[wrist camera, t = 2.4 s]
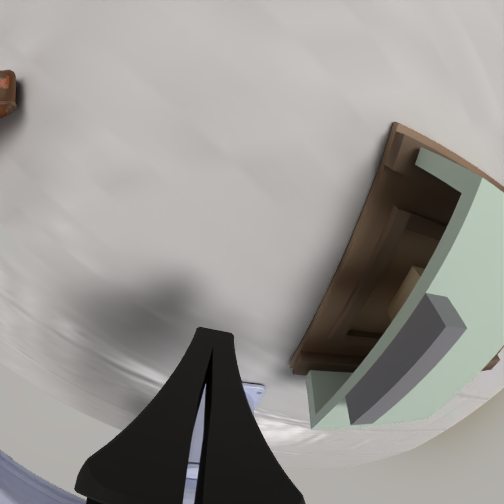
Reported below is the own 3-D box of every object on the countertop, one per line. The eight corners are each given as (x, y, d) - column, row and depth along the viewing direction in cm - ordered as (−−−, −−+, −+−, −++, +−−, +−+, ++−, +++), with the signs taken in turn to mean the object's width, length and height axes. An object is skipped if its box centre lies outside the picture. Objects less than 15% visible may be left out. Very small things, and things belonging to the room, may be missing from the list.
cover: (414, 378, 22) (432, 436, 16) (305, 376, 21) (313, 453, 15) (524, 213, 12) (581, 264, 6) (420, 147, 11) (517, 199, 5)
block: (423, 314, 19) (447, 361, 14) (386, 309, 18) (408, 362, 14) (448, 275, 17) (481, 320, 12) (412, 265, 16) (445, 316, 12)
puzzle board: (484, 363, 25) (488, 371, 24) (289, 362, 23) (291, 377, 21) (564, 243, 15) (571, 250, 14) (393, 121, 12) (407, 125, 11)
